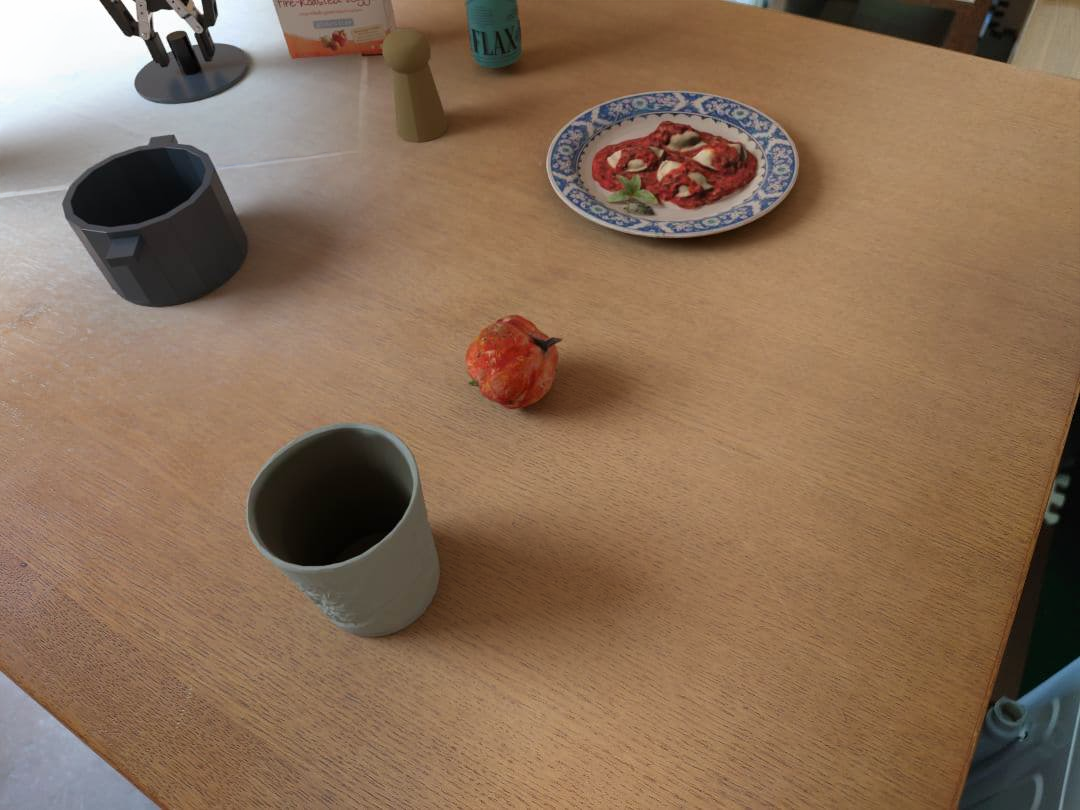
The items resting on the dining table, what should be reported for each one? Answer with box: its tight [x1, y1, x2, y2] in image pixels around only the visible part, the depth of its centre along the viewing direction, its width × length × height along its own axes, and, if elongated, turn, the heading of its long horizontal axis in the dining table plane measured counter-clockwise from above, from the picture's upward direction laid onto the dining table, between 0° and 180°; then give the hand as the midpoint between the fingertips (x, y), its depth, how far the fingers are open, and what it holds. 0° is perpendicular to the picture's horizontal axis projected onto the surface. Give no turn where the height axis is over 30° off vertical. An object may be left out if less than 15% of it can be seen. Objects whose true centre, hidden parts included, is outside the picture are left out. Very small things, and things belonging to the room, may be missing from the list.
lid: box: [133, 30, 250, 105], centre depth 100 cm, size 15×15×6 cm
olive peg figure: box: [382, 27, 449, 143], centre depth 87 cm, size 6×6×11 cm
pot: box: [61, 133, 249, 308], centre depth 75 cm, size 14×19×9 cm
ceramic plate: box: [545, 90, 800, 239], centre depth 81 cm, size 26×26×3 cm
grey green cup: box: [245, 422, 441, 638], centre depth 50 cm, size 10×10×12 cm
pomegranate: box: [464, 314, 563, 410], centre depth 62 cm, size 7×7×10 cm
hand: (187, 61), depth 101 cm, fingers open, 5 cm apart
